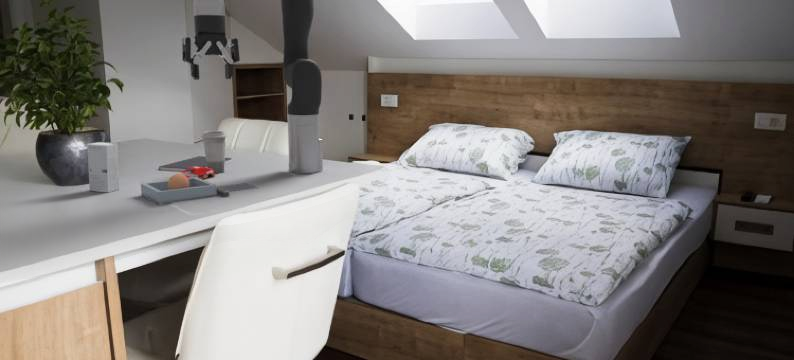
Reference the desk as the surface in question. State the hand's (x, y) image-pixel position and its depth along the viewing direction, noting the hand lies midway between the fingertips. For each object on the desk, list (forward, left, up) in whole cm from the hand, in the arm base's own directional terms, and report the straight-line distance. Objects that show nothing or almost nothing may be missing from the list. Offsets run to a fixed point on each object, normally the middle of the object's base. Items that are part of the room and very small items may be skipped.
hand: (212, 79), depth 164 cm
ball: (+12, +6, -28) cm, 31 cm away
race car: (+2, -11, -29) cm, 31 cm away
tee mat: (-3, +6, -28) cm, 29 cm away
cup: (-8, -20, -28) cm, 36 cm away
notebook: (-8, -35, -29) cm, 46 cm away
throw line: (+4, +6, -28) cm, 29 cm away
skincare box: (+25, -12, -28) cm, 40 cm away
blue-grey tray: (+12, +6, -28) cm, 31 cm away
